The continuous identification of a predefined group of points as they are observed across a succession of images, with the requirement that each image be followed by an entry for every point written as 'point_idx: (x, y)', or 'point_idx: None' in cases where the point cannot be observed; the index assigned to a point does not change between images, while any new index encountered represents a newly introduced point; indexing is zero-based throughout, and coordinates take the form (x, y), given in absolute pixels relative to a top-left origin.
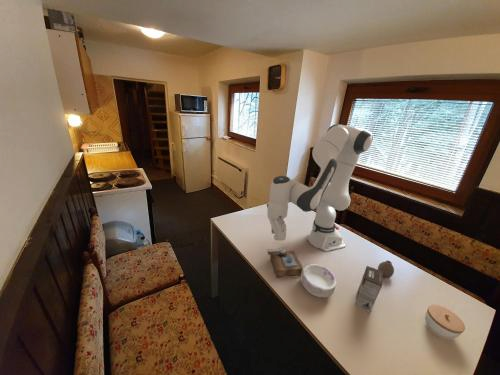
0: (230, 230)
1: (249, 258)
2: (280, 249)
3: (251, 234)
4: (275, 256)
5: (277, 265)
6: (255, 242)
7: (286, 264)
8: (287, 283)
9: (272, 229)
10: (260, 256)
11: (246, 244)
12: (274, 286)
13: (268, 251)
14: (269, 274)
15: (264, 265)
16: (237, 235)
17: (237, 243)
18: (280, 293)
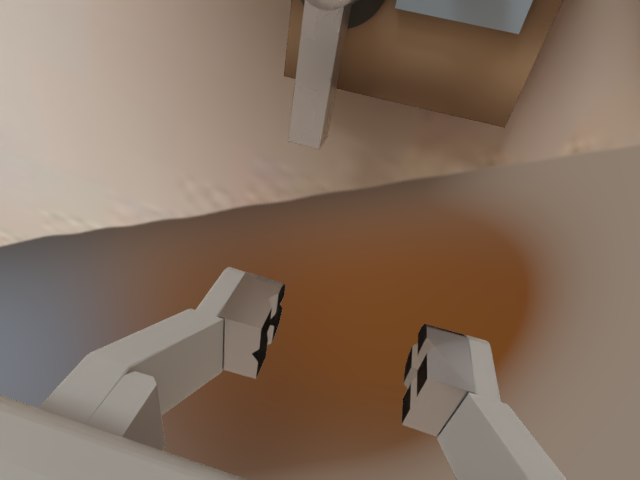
0: (28, 207)
1: (270, 198)
2: (322, 3)
3: (39, 91)
4: (347, 60)
5: (455, 97)
6: (123, 98)
7: (507, 10)
8: (589, 40)
9: (216, 365)
10: (265, 123)
11: (146, 166)
12: (548, 152)
13: (317, 148)
14: (440, 137)
15: (352, 134)
16: (67, 186)
17: (139, 212)
18: (624, 141)
